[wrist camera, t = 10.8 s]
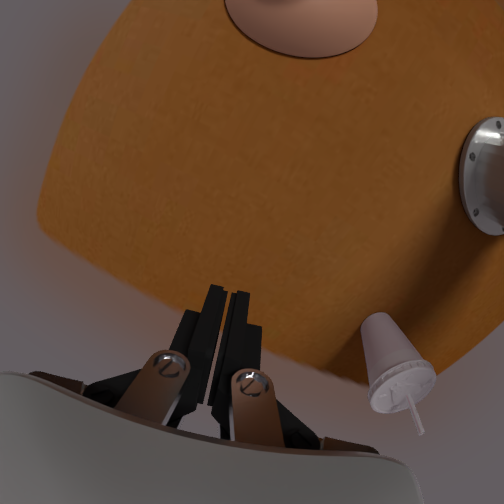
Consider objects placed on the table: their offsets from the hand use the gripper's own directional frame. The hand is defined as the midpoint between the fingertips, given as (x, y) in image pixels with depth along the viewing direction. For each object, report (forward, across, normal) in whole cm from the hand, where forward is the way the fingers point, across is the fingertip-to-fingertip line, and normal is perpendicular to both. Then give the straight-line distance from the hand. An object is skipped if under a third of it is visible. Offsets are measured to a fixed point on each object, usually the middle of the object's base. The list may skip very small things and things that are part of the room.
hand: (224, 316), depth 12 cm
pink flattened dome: (+13, 0, -21) cm, 25 cm away
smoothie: (+14, -16, +8) cm, 23 cm away
